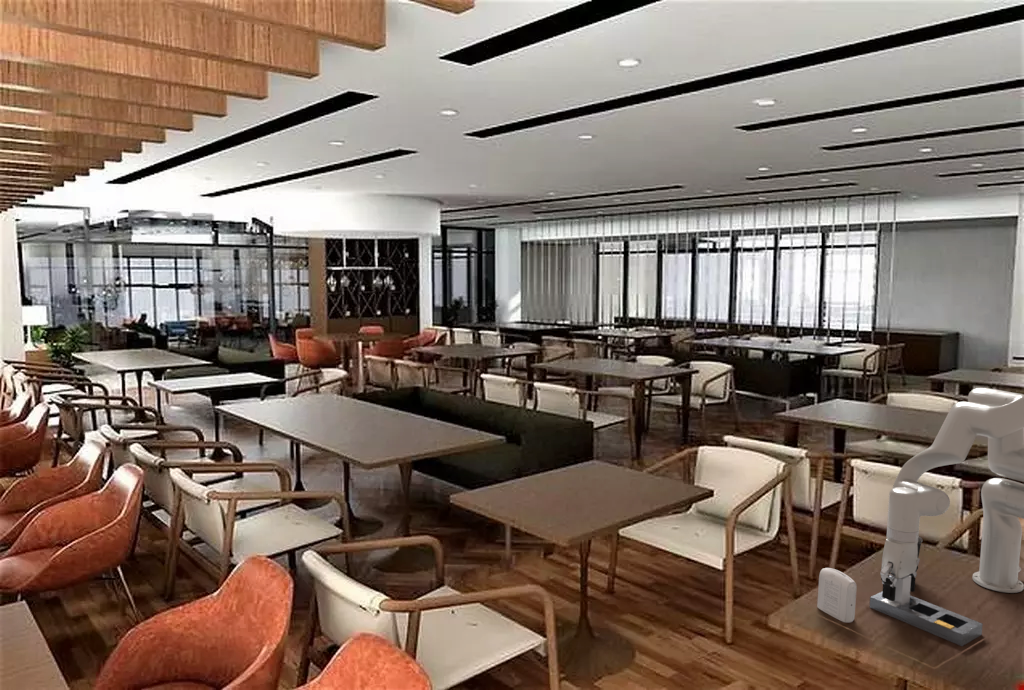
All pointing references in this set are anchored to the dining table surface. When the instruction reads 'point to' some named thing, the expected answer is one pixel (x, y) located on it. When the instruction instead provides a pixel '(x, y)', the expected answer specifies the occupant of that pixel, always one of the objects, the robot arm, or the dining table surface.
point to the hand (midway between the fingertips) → (898, 594)
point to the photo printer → (837, 594)
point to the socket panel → (930, 618)
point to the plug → (902, 590)
